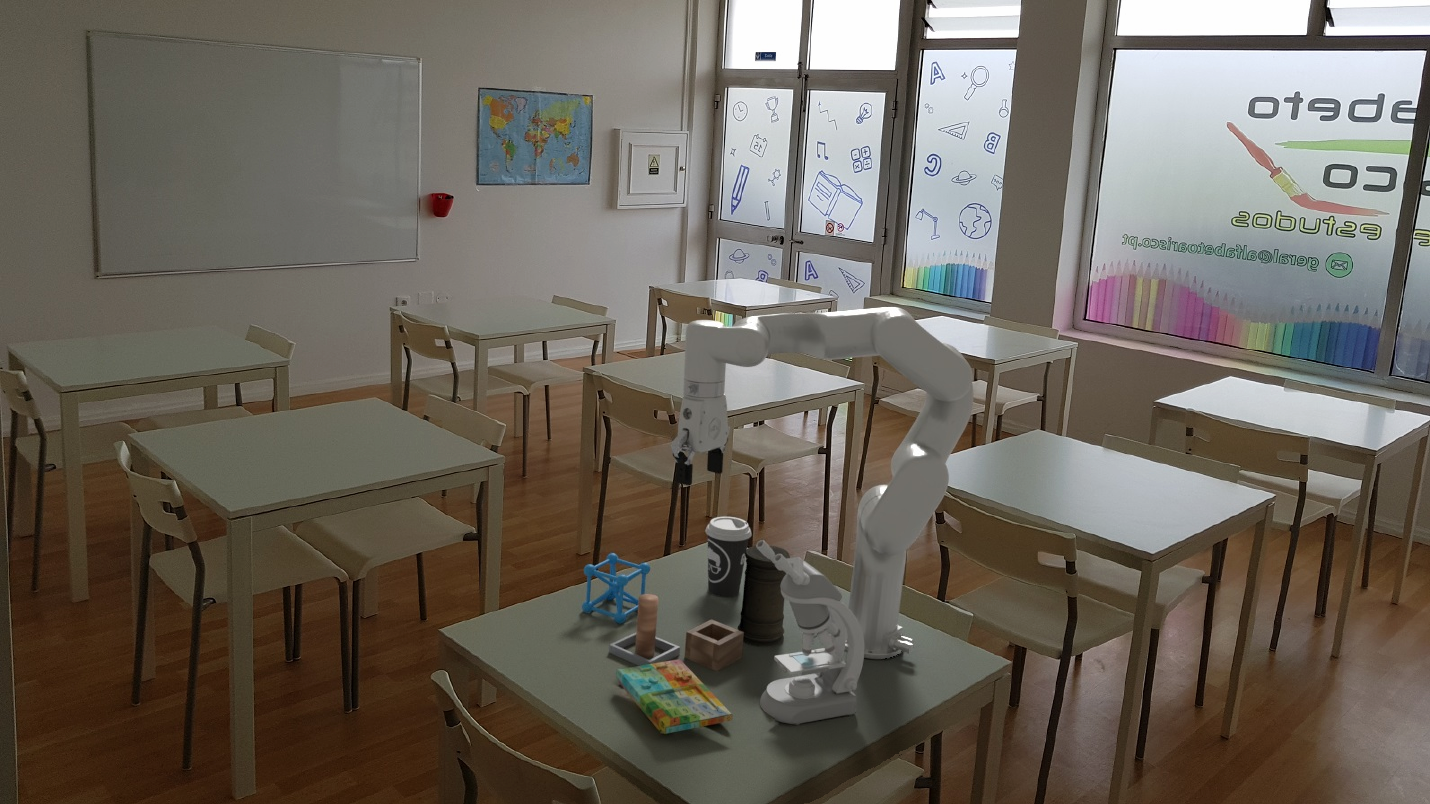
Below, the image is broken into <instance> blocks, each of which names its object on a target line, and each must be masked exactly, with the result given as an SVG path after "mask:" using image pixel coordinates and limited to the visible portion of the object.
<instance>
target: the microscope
mask: <svg viewBox="0 0 1430 804" xmlns="http://www.w3.org/2000/svg"><path fill="white" fill-rule="evenodd" d="M755 546H756V548H757V549H758V550H759V551H760V552H761V553H762V554H763V555H764V556H765V557H767V558H768V559H770V560H771V561H772V562H773V563H774V564H775V567H776V568H777V569H778V570H783V571H785V573H787V574H786V575H785V577H784V578H783V580H782V582H781V585H780V588H781V593H782V596H783V597H784V598H785V599H784V600H785V601H788V602H789V605H790V607H791V609H792V613H793V616H794V619H795V621H796V624H797V627H798V629H799V631H801V632H802V640H801V643H802V647H801V648H802V649H801V651H797V652H792V653H784V654H778V655H774V658H773V660H774V661H775V662H776V663H777V666H778V667H779V668H780V669H781V670H782V671H783V672H785V673H788V674H789V675H790V676H792V677H786V678H785V677H784V678H780V679H779V678H778V679H776V680H773V681H771V682H770V683H768V685H767V686H766V689H765V690H764V691H763V692H762V694H761V695H760V698H759V699H760V700H759V705H760V707H761V710H763V711H764V712H765V713H766V714H767V715H769V716H771V717H772V719H773V720H775V721H778V722H780V723H784V724H787V725H788V724H789V725H796V726H799V725H800V724H805V723H809V722H815V721H820V720H825V719H831V718H837V717H841V716H842V717H843V716H848V715H849V716H853V715H854V714H855V713H856V710H857V702H858V699H857V698H858V697H857V695H856V693H854V692H853V691H854V690H857V688H858V681H859V678H860V675H861V672H862V668H863V666H864V665H863V664H864V660H865V659H864V638H863V633H862V630H861V627H860V625H859V623H858V621H857V619H856V617H855V616H854V614H853V613H852V611H851V610H850V609H849V606H847V604H845V603H844V602H842V599H843V593H841V592H840V590H839V589H838V588H837V587H836V586H835V585H834V584H833V583H832V582H831V580H829V578H828V577H827V576H826V575H824V574H823V573H822V572H820V571H819V570H817V569H816V568H815V567H813V566H812V565H811V564H810V563H808V562H807V561H806V560H803V559H802V558H801V557H799V556H796V557H795V556H793V557H790V558H787V559H786V558H785V557H784V556H783V555H782V554H777V555H775V553H774V552H773V550H772V549H771V547H770V546H771V545H770V546H769V544H768V543H767V542H766V541H765V540H764V539H763V540H762V539H760V540H758V541H757V542H756V545H755ZM846 630H847V633H848V637H849V650H848V652H847V655H846V657H845V660H843V657H844V653H845V644H846ZM816 638H818V640H819V642H820V644H821V645H822V646H823V648H817V649H815V648H814V649H812V648H813V645H814V640H815V639H816ZM795 675H798V676H795Z"/></svg>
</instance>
